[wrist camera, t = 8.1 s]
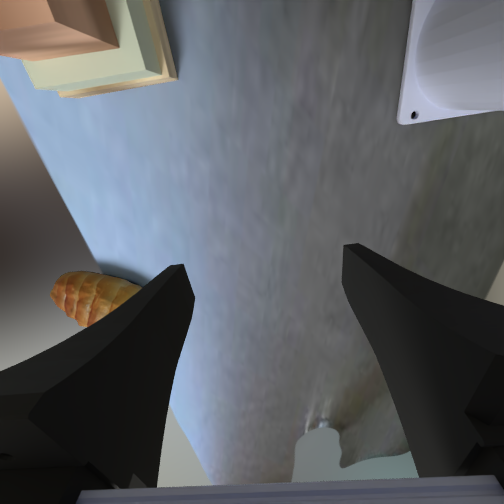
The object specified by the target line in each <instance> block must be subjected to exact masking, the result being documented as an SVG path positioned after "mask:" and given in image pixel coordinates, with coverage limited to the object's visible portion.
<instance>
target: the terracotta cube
mask: <svg viewBox="0 0 504 504" xmlns="http://www.w3.org/2000/svg"><path fill="white" fill-rule="evenodd" d="M118 48H120V47H119V44H118V41H117V38H116V34H115V31H114V28H113V25H112V21H111V18H110V15H109V12H108V8H107V5H106V2H105V0H0V55H1V56H7V57H12V58H17V59H22V60H28V61H39V60H46V59H52V58H59V57H66V56H72V55H79V54H85V53H92V52H98V51H105V50H111V49H118Z"/></svg>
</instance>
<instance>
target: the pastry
mask: <svg viewBox="0 0 504 504" xmlns="http://www.w3.org/2000/svg"><path fill="white" fill-rule="evenodd" d="M141 289H142V287H141V286H139V285H135V284H132V283H130V282H128V280H125V279H121V278H118V277H112V276H109V275H103V274H99V273H94V272H86V271H77V272H68V273H65V274H63V275H61V276H60V278H59V279H58V280H57V281H56V283H55V285H54V288H53V289H52V291H51V293H50V296H51V298H52V299H53V300H54V302H55V303H56V305H57V306H58V307H59V308H60V309H62V310H63V311H65V312H66V315H67V316H68V317H71V318H74V319H76V320H77V322H78V324H79V325H80V326H85V327H89V326H90V325H92V324H94V323H95V322H97V321H98V320H100V319H101V318H103V317H104V316H106V315H107V314H109V313H110V312H112V311H113V310H115V309H116V308H117V307H119V306H120V305H121V304H123V303H124V302H125V301H126V300H128V299H129V298H130V297H132V296H133V295H134V294H136V293H137V292H138V291H139V290H141Z"/></svg>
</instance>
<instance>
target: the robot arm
mask: <svg viewBox="0 0 504 504" xmlns="http://www.w3.org/2000/svg"><path fill="white" fill-rule="evenodd" d="M413 111H415V112H416V115H415V117H414V118H413V119H411V114H412V113H413ZM490 111H504V0H413V2H412V10H411V17H410V24H409V32H408V39H407V46H406V54H405V61H404V68H403V76H402V83H401V90H400V98H399V105H398V112H397V121H398V123H399V124H404V125H406V124H413V123H419V122H426V121H432V120H438V119H445V118H451V117H458V116H464V115H471V114H477V113H484V112H490ZM342 285H343V288H344V291H345V294H346V296H347V299H348V302H349V304H350V306H351V308H352V310H353V312H354V314H355V315H356V317H357V319H358V321H359V323H360V325H361V327H362V329H363V331H364V333H365V335H366V337H367V338H368V340H369V342H370V344H371V346H372V348H373V350H374V353H375V355H376V357H377V360H378V362H379V365H380V367H381V370H382V372H383V375H384V377H385V380H386V382H387V385H388V388H389V391H390V393H391V396H392V399H393V401H394V404H395V407H396V410H397V412H398V415H399V418H400V421H401V424H402V427H403V430H404V432H405V435H406V438H407V441H408V444H409V447H410V451H411V454H412V457H413V459H414V463H415V466H416V469H417V472H418V475H419V478H400V479H375V480H374V479H373V480H348V481H320V482H293V483H267V484H240V485H213V486H187V487H161V488H157V481H158V472H159V465H160V457H161V449H162V442H163V436H164V430H165V423H166V417H167V412H168V406H169V400H170V395H171V390H172V385H173V380H174V376H175V371H176V367H177V364H178V360H179V357H180V354H181V351H182V348H183V344H184V341H185V338H186V335H187V332H188V329H189V325H190V322H191V319H192V314H193V309H194V302H195V296H194V293H193V290H192V287H191V284H190V281H189V279H188V276H187V273H186V270H185V267H184V264H178V265H170V266H169V267H167V268H166V269H165V270H164V271H162V272H161V273H160V274H159V275H157V276H156V277H155V278H154V279H153V280H151V281H150V282H149V283H148V284H147V285H145V286H144V287H143V288H142V289H141V290H139V291H138V292H137V293H136V294H134V295H133V296H132V297H130V298H129V299H128V300H126V301H125V302H124V303H123V304H121V305H120V306H119V307H117V308H116V309H115V310H113V311H112V312H110V313H109V314H107V315H106V316H104V317H103V318H101V319H100V320H98V321H97V322H95V323H94V324H92V325H90V326H89V327H87V328H85V329H84V330H82V331H80V332H78V333H77V334H75V335H73V336H71V337H70V338H68V339H66V340H65V341H63V342H61V343H59V344H57V345H55V346H53V347H51V348H49V349H47V350H46V351H43V352H41V353H39V354H37V355H36V356H33V357H31V358H29V359H27V360H25V361H23V362H21V363H18V364H16V365H14V366H12V367H10V368H7V369H5V370H2V371H0V504H504V306H503V305H500V304H496V303H493V302H490V301H487V300H483V299H480V298H477V297H474V296H471V295H468V294H465V293H462V292H459V291H457V290H454V289H451V288H449V287H446V286H444V285H441V284H439V283H436V282H434V281H431V280H429V279H427V278H424V277H422V276H420V275H418V274H416V273H414V272H412V271H409V270H407V269H405V268H403V267H401V266H399V265H398V264H396V263H394V262H392V261H390V260H388V259H386V258H385V257H383V256H381V255H379V254H377V253H376V252H374V251H372V250H370V249H368V248H367V247H365V246H363V245H361V244H359V243H356V244H348V245H344V248H343V267H342Z"/></svg>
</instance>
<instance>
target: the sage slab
mask: <svg viewBox="0 0 504 504" xmlns="http://www.w3.org/2000/svg"><path fill="white" fill-rule="evenodd" d="M105 2H106V5H107V8H108V12H109V15H110V18H111V21H112V25H113V28H114V31H115V34H116V38H117V41H118V44H119V47H120V48H118V49H111V50H105V51H98V52H92V53H85V54H79V55H72V56H66V57H59V58H52V59H46V60H39V61H28V60H22V59H21V60H22V62H23V64H24V66H25V68H26V70H27V73H28V75H29V77H30V79H31V81H32V83H33V85H34V87H35V89H41V90H54V91H73V90H79V89H85V88H91V87H96V86H102V85H108V84H114V83H120V82H125V81H131V80H137V79H143V78H149V77H154V76H160V75H162V73H161V69H160V65H159V62H158V58H157V54H156V50H155V46H154V43H153V39H152V35H151V31H150V27H149V24H148V20H147V16H146V12H145V8H144V5H143V1H142V0H105Z"/></svg>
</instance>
